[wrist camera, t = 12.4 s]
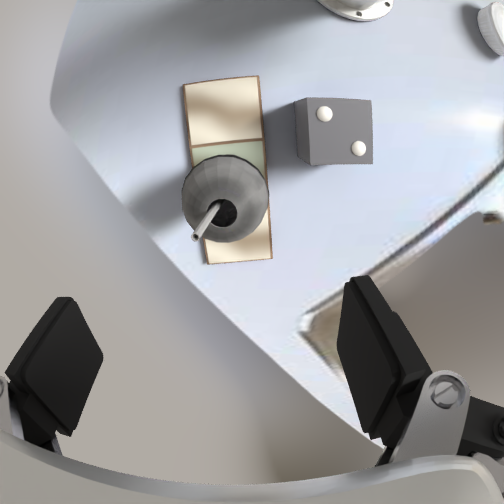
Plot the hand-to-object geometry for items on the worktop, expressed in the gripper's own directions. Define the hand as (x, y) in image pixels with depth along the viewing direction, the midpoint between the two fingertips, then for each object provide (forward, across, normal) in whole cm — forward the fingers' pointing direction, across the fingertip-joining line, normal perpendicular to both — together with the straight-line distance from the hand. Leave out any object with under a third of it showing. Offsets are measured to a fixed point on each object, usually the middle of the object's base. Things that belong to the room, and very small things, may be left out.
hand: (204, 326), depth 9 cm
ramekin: (+29, -48, -27) cm, 62 cm away
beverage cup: (+27, 0, 0) cm, 27 cm away
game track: (+28, 0, +1) cm, 28 cm away
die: (+28, -12, -4) cm, 31 cm away
